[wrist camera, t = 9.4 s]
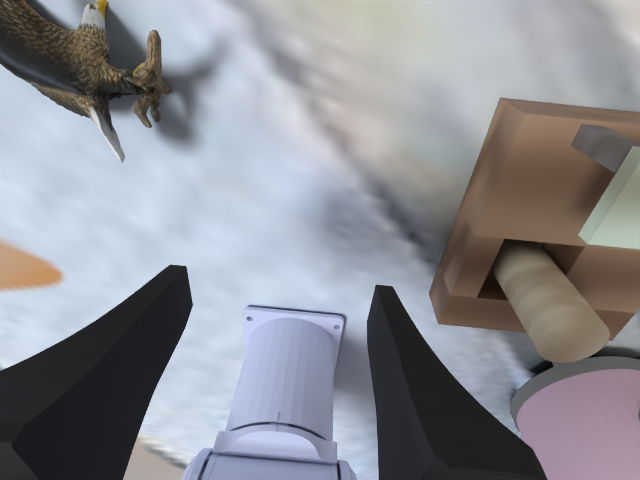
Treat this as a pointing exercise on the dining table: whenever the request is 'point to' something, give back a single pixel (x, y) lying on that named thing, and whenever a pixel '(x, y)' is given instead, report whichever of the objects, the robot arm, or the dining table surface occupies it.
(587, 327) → the peg
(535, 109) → the socket deck
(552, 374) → the blender
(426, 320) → the dining table surface
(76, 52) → the eagle figurine
